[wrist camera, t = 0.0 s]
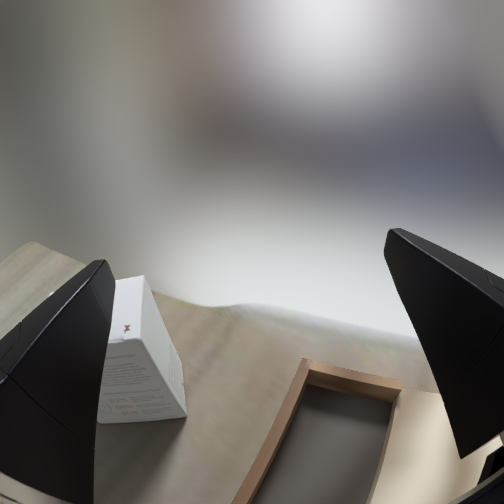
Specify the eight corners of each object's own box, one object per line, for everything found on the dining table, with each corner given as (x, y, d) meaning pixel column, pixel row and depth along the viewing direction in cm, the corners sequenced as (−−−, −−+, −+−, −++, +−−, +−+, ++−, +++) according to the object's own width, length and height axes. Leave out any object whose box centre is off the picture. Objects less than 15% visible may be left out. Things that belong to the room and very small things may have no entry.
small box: (183, 363, 24) (147, 272, 18) (188, 419, 20) (142, 338, 14) (103, 373, 23) (48, 289, 17) (98, 425, 19) (25, 349, 13)
